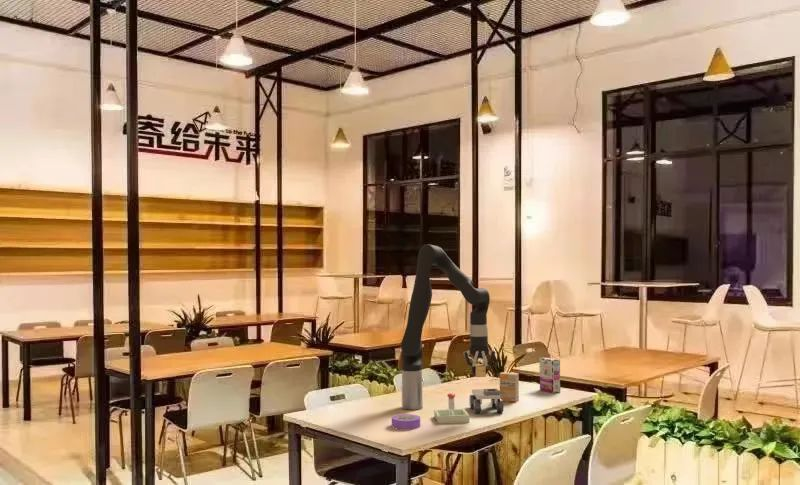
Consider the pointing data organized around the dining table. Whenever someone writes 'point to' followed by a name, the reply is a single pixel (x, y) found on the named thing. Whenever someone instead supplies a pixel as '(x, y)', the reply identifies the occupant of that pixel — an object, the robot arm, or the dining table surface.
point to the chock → (480, 370)
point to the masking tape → (406, 421)
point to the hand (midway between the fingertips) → (479, 374)
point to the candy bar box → (549, 375)
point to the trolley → (486, 394)
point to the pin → (451, 403)
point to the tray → (451, 416)
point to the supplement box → (509, 386)
